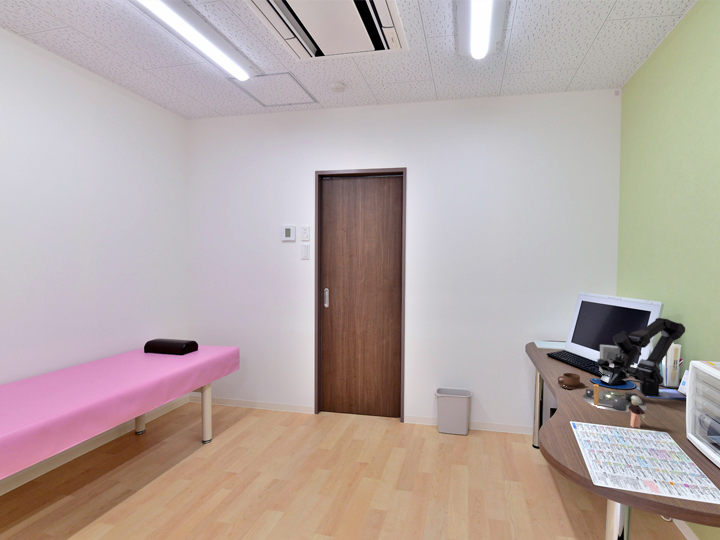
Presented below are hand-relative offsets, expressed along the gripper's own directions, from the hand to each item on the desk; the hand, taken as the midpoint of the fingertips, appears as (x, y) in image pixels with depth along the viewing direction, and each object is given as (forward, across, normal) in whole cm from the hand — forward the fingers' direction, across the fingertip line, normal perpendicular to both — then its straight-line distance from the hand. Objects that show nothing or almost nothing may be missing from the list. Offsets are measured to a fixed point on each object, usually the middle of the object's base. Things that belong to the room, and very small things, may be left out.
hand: (609, 384), depth 176 cm
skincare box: (-20, -28, +32) cm, 47 cm away
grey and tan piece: (+10, +6, -1) cm, 12 cm away
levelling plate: (+6, +2, +6) cm, 8 cm away
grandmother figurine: (+17, +22, -5) cm, 28 cm away
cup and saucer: (+5, -22, +7) cm, 23 cm away
